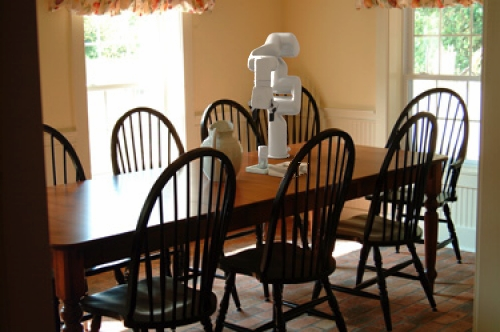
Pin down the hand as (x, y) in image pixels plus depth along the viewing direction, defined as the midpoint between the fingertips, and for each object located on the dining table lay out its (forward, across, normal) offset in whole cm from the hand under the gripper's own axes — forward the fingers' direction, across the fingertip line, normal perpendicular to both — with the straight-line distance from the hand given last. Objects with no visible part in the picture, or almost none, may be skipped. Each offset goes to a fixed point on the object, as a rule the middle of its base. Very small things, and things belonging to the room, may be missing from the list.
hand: (263, 120), depth 347 cm
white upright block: (+23, 0, 0) cm, 23 cm away
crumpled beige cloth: (+24, +14, +1) cm, 28 cm away
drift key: (+24, +14, +9) cm, 29 cm away
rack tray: (+24, 0, 0) cm, 24 cm away
